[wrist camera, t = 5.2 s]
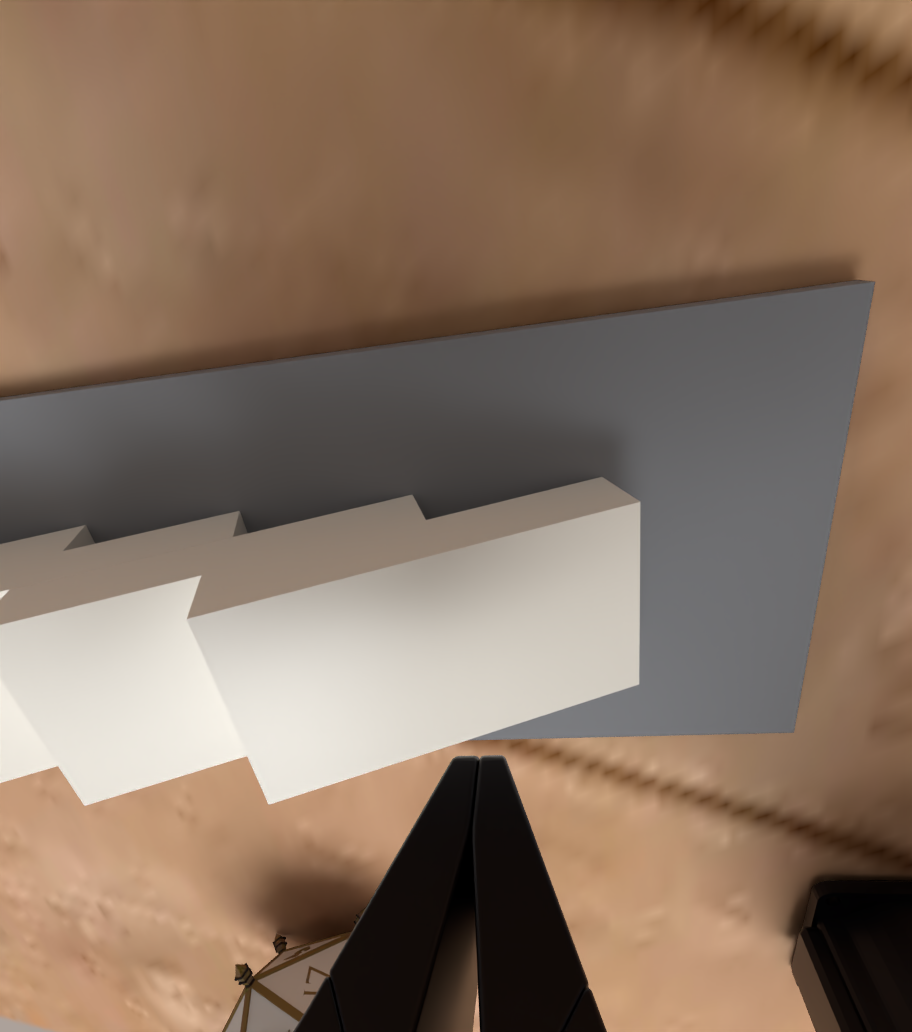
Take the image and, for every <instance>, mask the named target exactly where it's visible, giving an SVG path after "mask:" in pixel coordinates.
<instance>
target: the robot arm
mask: <svg viewBox="0 0 912 1032" xmlns="http://www.w3.org/2000/svg"><path fill="white" fill-rule="evenodd" d="M791 968H792V973H793V976H794V979H795V981H796V984H797V986H798V987H799V989H800V992H801V994H802V997H803V1000H804V1002H805V1005H806V1007H807V1010H808V1013H809V1015H810V1018H811V1020H812V1023H813V1026H814V1028H815V1031H816V1032H912V882H887V881H822V882H819V883H817V884H815V885H814V886H813V888H812V890H811V894H810V898H809V902H808V906H807V910H806V914H805V919H804V923H803V927H802V929H801V931H800V933H799V936H798V940H797V945H796V949H795V953H794V957H793V961H792V965H791ZM329 974H330V977H326V978H325V979H324V980H323V982H322V984H321V986H320V987H319V989H318V991H317V993H316V994H315V996H314V998H313V999H312V1001H311V1003H310V1005H309V1006H308V1008H307V1010H306V1011H305V1013H304V1015H303V1016H302V1018H301V1020H300V1021H299V1023H298V1024H297V1026H296V1028H295V1029H294V1031H293V1032H473V1022H474V1013H475V1004H476V995H477V985H478V996H479V1017H480V1032H607V1031H606V1028H605V1026H604V1023H603V1020H602V1018H601V1015H600V1012H599V1010H598V1007H597V1004H596V1001H595V999H594V996H593V993H592V991H591V990H590V989H589V987H588V980H587V978H586V975H585V972H584V970H583V967H582V964H581V961H580V959H579V956H578V953H577V951H576V948H575V945H574V943H573V940H572V937H571V934H570V932H569V929H568V926H567V924H566V921H565V918H564V915H563V913H562V910H561V907H560V905H559V902H558V899H557V896H556V894H555V891H554V888H553V886H552V883H551V880H550V877H549V875H548V872H547V869H546V867H545V864H544V861H543V858H542V856H541V853H540V850H539V848H538V845H537V842H536V839H535V837H534V834H533V831H532V829H531V826H530V823H529V820H528V818H527V815H526V812H525V810H524V807H523V804H522V802H521V799H520V796H519V793H518V791H517V788H516V785H515V783H514V780H513V777H512V774H511V772H510V769H509V766H508V764H507V761H506V759H505V757H504V756H502V755H492V756H482V757H481V758H480V760H479V758H478V757H477V756H457V757H455V758H453V760H452V761H451V762H450V764H449V766H448V768H447V769H446V771H445V773H444V774H443V776H442V778H441V780H440V781H439V783H438V785H437V787H436V788H435V790H434V792H433V793H432V795H431V797H430V799H429V800H428V802H427V804H426V805H425V807H424V809H423V811H422V812H421V814H420V816H419V818H418V819H417V821H416V823H415V824H414V826H413V828H412V830H411V831H410V833H409V835H408V836H407V838H406V840H405V842H404V843H403V845H402V847H401V848H400V850H399V852H398V854H397V855H396V857H395V859H394V861H393V862H392V864H391V866H390V867H389V869H388V871H387V873H386V874H385V876H384V878H383V879H382V881H381V883H380V885H379V886H378V888H377V890H376V891H375V893H374V895H373V897H372V898H371V900H370V902H369V904H368V905H367V907H366V909H365V910H364V912H363V914H362V916H361V917H360V919H359V921H358V922H357V924H356V926H355V928H354V929H353V931H352V933H351V935H350V936H349V938H348V940H347V941H346V943H345V945H344V947H343V948H342V950H341V952H340V953H339V955H338V957H337V959H336V960H335V962H334V964H333V965H332V967H331V969H330V972H329Z"/></svg>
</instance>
